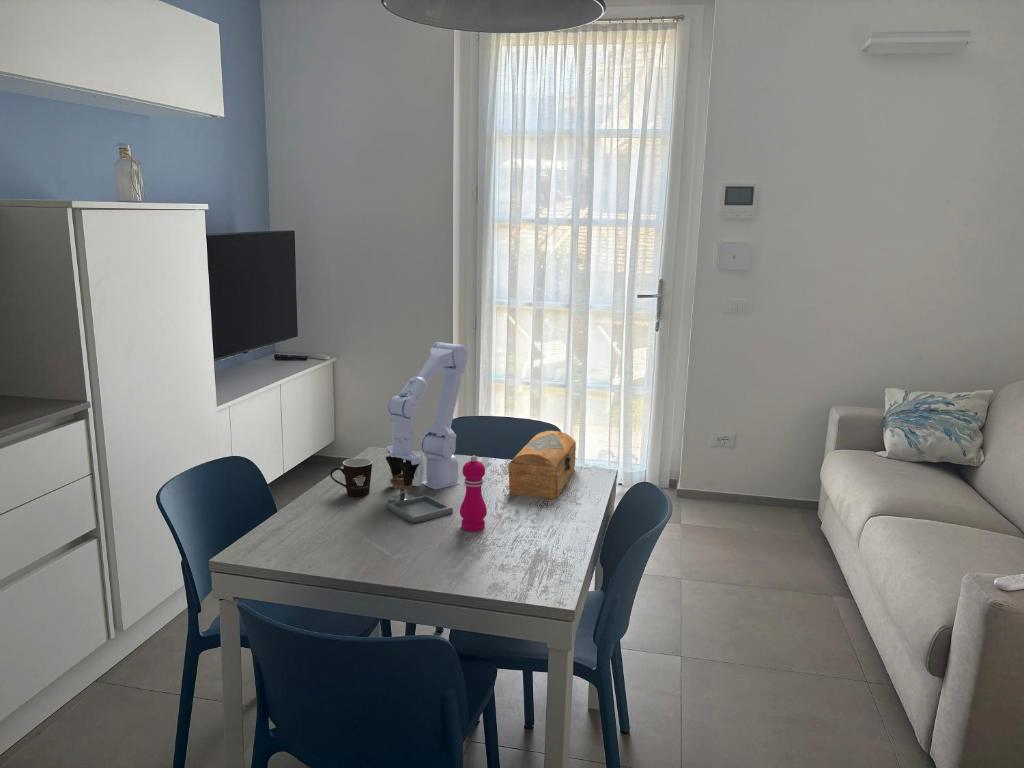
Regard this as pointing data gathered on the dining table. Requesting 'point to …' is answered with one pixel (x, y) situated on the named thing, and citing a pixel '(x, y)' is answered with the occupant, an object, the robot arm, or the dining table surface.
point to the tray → (420, 509)
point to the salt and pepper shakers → (417, 476)
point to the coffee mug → (356, 476)
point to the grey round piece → (400, 497)
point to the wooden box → (543, 466)
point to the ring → (399, 482)
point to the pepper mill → (473, 497)
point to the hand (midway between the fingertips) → (402, 482)
